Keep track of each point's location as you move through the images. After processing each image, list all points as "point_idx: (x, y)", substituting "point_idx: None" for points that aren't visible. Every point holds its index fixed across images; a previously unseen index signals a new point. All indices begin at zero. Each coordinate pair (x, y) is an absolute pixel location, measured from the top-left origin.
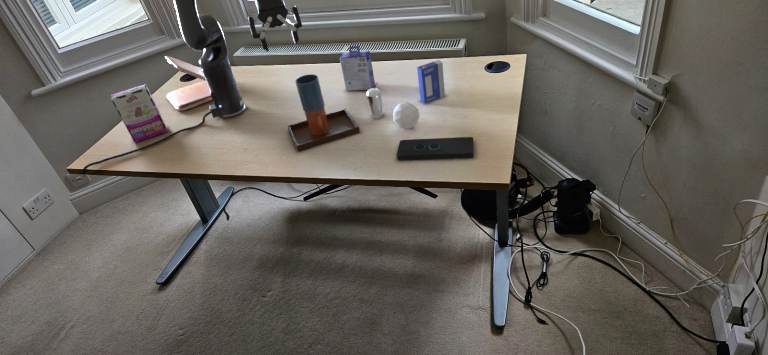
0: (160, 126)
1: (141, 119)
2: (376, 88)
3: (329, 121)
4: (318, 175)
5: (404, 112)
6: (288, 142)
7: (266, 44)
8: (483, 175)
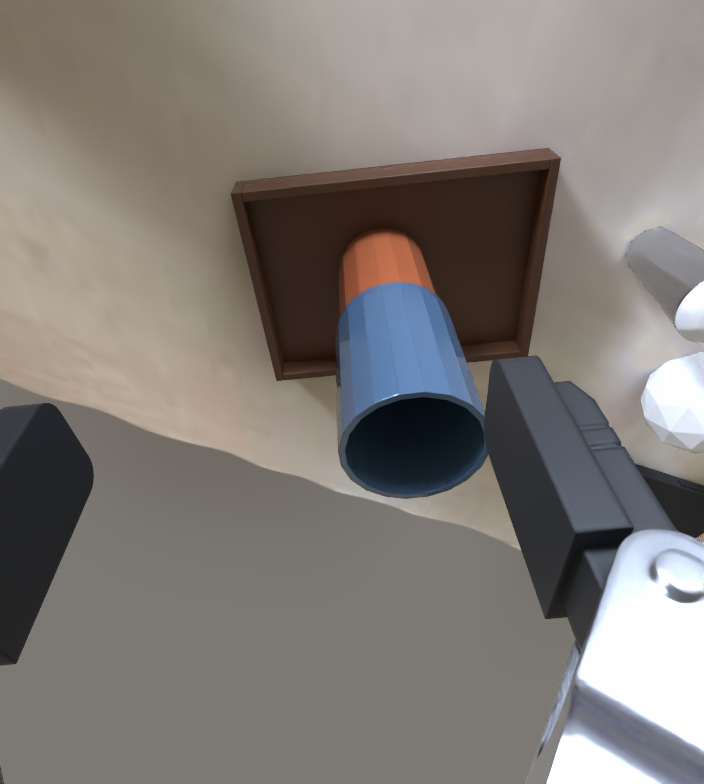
0: None
1: None
2: None
3: (444, 205)
4: (331, 482)
5: (688, 450)
6: (238, 282)
7: (48, 565)
8: None
